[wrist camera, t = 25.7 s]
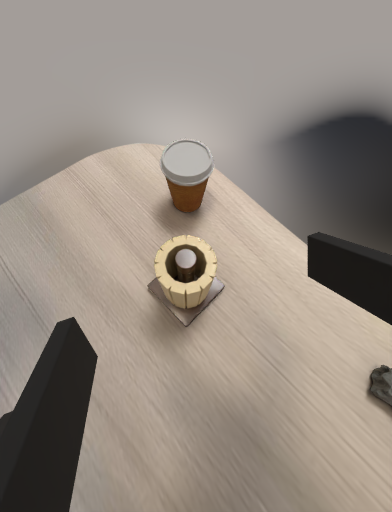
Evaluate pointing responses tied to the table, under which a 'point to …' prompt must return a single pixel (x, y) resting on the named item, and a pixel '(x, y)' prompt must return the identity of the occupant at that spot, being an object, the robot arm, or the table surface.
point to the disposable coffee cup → (187, 172)
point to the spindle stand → (186, 275)
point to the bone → (382, 383)
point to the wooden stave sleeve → (167, 271)
